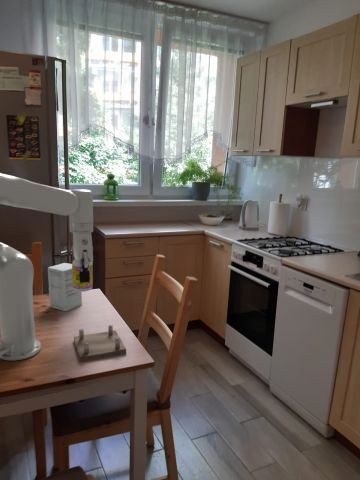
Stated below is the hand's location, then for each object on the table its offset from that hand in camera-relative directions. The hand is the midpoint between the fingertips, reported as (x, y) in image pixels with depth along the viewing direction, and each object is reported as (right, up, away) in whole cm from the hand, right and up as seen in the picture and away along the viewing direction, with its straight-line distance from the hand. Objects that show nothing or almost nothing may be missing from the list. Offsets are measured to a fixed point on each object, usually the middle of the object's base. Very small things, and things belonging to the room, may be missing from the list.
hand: (82, 278), depth 125 cm
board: (+7, -21, -6) cm, 23 cm away
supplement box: (-14, -14, +27) cm, 33 cm away
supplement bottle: (0, -4, +1) cm, 4 cm away
